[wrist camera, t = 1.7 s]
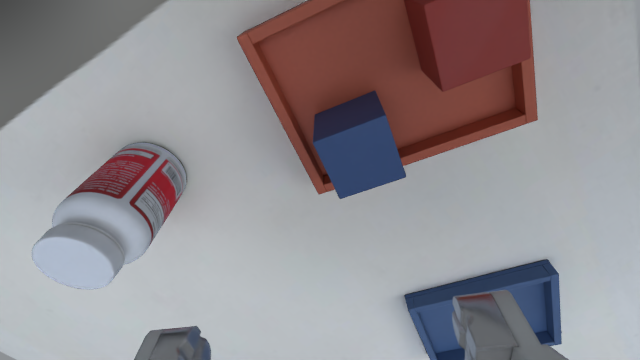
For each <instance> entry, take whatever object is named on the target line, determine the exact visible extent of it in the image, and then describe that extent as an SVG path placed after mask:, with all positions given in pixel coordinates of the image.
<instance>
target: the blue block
mask: <svg viewBox="0 0 640 360" xmlns="http://www.w3.org/2000/svg"><path fill="white" fill-rule="evenodd" d="M313 145H314V147H315V149H316V151H317V153H318V155H319V157H320V159H321V161H322V163H323V165H324V168H325V170H326V172H327V174H328V176H329V178H330V180H331V182H332V184H333V186H334V188H335V190H336V192H337V194H338V196H339V198H340V199H342V198H345V197H348V196H351V195H354V194H357V193H360V192H363V191H366V190H369V189H372V188H375V187H378V186H381V185H384V184H387V183H390V182H393V181H396V180H399V179H402V178H405V177H406V174H405V171H404V168H403V165H402V162H401V159H400V156H399V153H398V150H397V147H396V144H395V141H394V138H393V135H392V132H391V129H390V126H389V123H388V120H387V117H386V114H385V112H384V109H383V107H382V105H381V102H380V100H379V98H378V95H377V93H376V91H372V92H370V93H367V94H365V95H362V96H360V97H357V98H355V99H352V100H350V101H347V102H345V103H342V104H340V105H337V106H335V107H332V108H330V109H327V110H325V111H322V112H320V113H318V114H315V117H314V131H313Z"/></svg>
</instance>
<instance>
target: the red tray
mask: <svg viewBox="0 0 640 360" xmlns="http://www.w3.org/2000/svg"><path fill="white" fill-rule="evenodd" d="M527 4H528V18H529V33H530V47H531V58H530V59H528V60H525V61H523V62H520V63H518V64H515V65H512V66H510V67H507V68H505V69H502V70H499V71H497V72H494V73H491V74H489V75H486V76H484V77H481V78H478V79H476V80H473V81H471V82H468V83H465V84H463V85H460V86H458V87H455V88H452V89H450V90H447V91H444V92H442V91H441V90H440V89H439V88H438V87H437V86H436V85H435V84H434V83H433V82H432V81H431V80H430V79H429V78H428V77H427V76H426V75H425V74H424V72H423V71H422V70H421V67H420V63H419V59H418V55H417V51H416V47H415V43H414V39H413V35H412V31H411V27H410V23H409V19H408V15H407V11H406V7H405V3H404V0H308V1H306V2H304V3H302V4H300V5H298V6H296V7H294V8H292V9H290V10H288V11H286V12H284V13H282V14H280V15H278V16H276V17H274V18H271V19H269V20H267V21H265V22H263V23H261V24H259V25H257V26H255V27H253V28H251V29H249V30H247V31H245V32H243V33H242V34H240V35H239V36H238V37H237V40H238V42H239V44H240V45H241V47H242V49H243V51H244V53H245V55H246V57H247V59H248V61H249V63H250V65H251V66H252V68H253V70H254V72H255V74H256V76H257V78H258V80H259V82H260V84H261V85H262V87H263V89H264V91H265V93H266V95H267V97H268V99H269V101H270V103H271V105H272V106H273V108H274V110H275V112H276V114H277V116H278V118H279V120H280V122H281V124H282V126H283V127H284V129H285V131H286V133H287V135H288V137H289V139H290V141H291V143H292V145H293V146H294V148H295V150H296V152H297V154H298V156H299V158H300V160H301V162H302V164H303V166H304V167H305V169H306V171H307V173H308V175H309V177H310V179H311V181H312V183H313V185H314V187H315V188H316V190H317V192H318V194H322V193H325V192H328V191H331V190H334V189H335V188H334V186H333V184H332V182H331V180H330V178H329V176H328V174H327V172H326V170H325V168H324V165H323V163H322V161H321V159H320V157H319V155H318V153H317V151H316V149H315V147H314V145H313V131H314V117H315V114H318V113H320V112H322V111H325V110H327V109H330V108H332V107H335V106H337V105H340V104H342V103H345V102H347V101H350V100H352V99H355V98H357V97H360V96H362V95H365V94H367V93H370V92H372V91H376V93H377V95H378V98H379V100H380V102H381V105H382V107H383V109H384V112H385V114H386V117H387V120H388V123H389V126H390V129H391V132H392V135H393V138H394V141H395V144H396V147H397V150H398V153H399V156H400V159H401V162H402V165H403V166H404V165H407V164H410V163H413V162H416V161H419V160H422V159H425V158H428V157H431V156H434V155H437V154H439V153H442V152H445V151H448V150H451V149H454V148H457V147H460V146H463V145H466V144H469V143H472V142H475V141H478V140H480V139H483V138H486V137H489V136H492V135H495V134H498V133H501V132H504V131H507V130H510V129H513V128H516V127H519V126H521V125H524V124H526V123H530V122H533V121H536V120H538V118H537V103H536V88H535V72H534V57H533V42H532V27H531V12H530V0H527Z"/></svg>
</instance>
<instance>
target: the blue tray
mask: <svg viewBox="0 0 640 360" xmlns="http://www.w3.org/2000/svg"><path fill="white" fill-rule="evenodd" d="M501 290H508V291H509V292H510V293H511V294H512V296H513V297H514V299H515V301H516V303H517V304H518V306H519V308H520V309H521V311H522V313H523V314H524V316H525V318H526V320H527V321H528V323H529V325H530V326H531V328H532V330H533V332H534V333H535V335H536V337H537V338H538V340H539V342H540V343H541V345H545V344H547V345H549V346H553V345H558V344H561V319H560V294H559V274H558V272H557V271H556V270H555V269H554V267H553V266H552V265H551V263H550V262H549V261H548V260H543V261H539V262H535V263H531V264H527V265H523V266H519V267H515V268H511V269H507V270H503V271H499V272H495V273H491V274H487V275H483V276H479V277H475V278H471V279H467V280H463V281H459V282H455V283H451V284H447V285H443V286H439V287H435V288H431V289H427V290H423V291H419V292H415V293H411V294H407V295H405V299H406V304H407V308H408V311H409V313H410V315H411V318H412V320H413V322H414V324H415V326H416V329H417V331H418V333H419V335H420V338H421V340H422V342H423V344H424V347H425V349H426V351H427V353H428V356H429V358H430V360H465V350H464V349H463V348H462V347H461V346H459V344H458V341H457V338H456V335H455V331H454V327H453V321H452V312H453V311H454V310H455V309H454V306H453V304H452V302H453V297H454V296H458V295H466V294H473V293H481V292H493V291H501Z"/></svg>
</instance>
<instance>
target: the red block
mask: <svg viewBox="0 0 640 360" xmlns="http://www.w3.org/2000/svg"><path fill="white" fill-rule="evenodd" d="M404 3H405V7H406V11H407V15H408V19H409V23H410V27H411V31H412V35H413V39H414V43H415V47H416V51H417V55H418V59H419V63H420V67H421V70H422V71H423V72H424V74H425V75H426V76H427V77H428V78H429V79H430V80H431V81H432V82H433V83H434V84H435V85H436V86H437V87H438V88H439V89H440V90H441V91H442V92H444V91H447V90H450V89H452V88H455V87H458V86H460V85H463V84H465V83H468V82H471V81H473V80H476V79H478V78H481V77H484V76H486V75H489V74H491V73H494V72H497V71H499V70H502V69H505V68H507V67H510V66H512V65H515V64H518V63H520V62H523V61H525V60H528V59H530V58H531V47H530V33H529V18H528V4H527V0H404Z"/></svg>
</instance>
